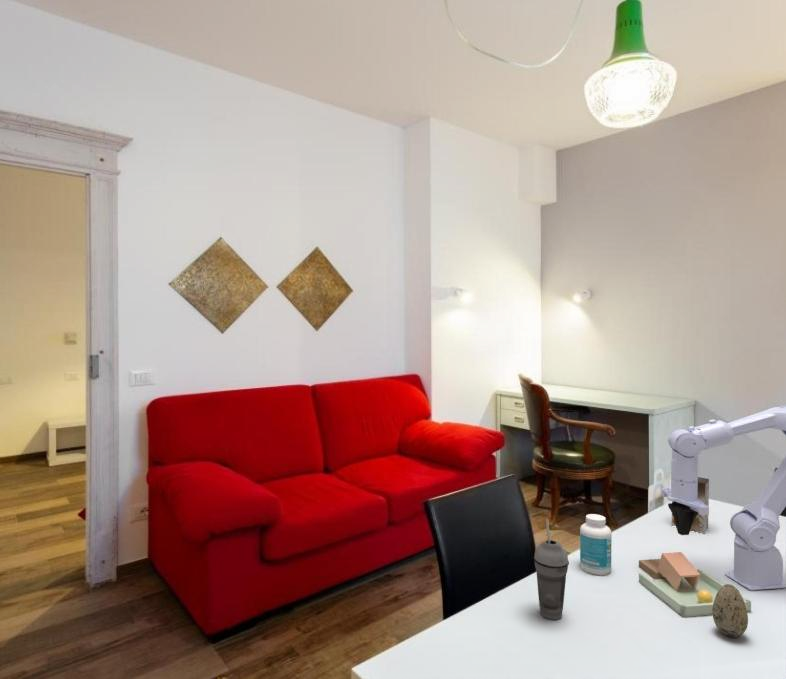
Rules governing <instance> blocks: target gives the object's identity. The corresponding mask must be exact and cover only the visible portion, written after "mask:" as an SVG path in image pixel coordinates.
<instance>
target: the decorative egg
mask: <svg viewBox="0 0 786 679" xmlns="http://www.w3.org/2000/svg"><path fill="white" fill-rule="evenodd" d="M742 596H743V595H742V594H741V592H740V591H739V590H738V588H737V587H735V586H734V585H733V584H730V583H727V584H724V586H722V587H721V588H720V589H719V591H718V592H717V594H716V597H715V599H714V603H713V609H712V614H713V615H712V619H713V622H714V624H715V626H716V628H717V629H718V630H719V631H720V632H721V633H722V634H724V635H726V636H727V637H730V638H731V637H732V638H736V637H739V636H742V635H744V634H745V632H746V631H747V629H748V626H749V615H748V612H747V609H746V606H745V603H744V600H743V598H742Z"/></svg>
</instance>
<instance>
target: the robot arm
mask: <svg viewBox="0 0 786 679" xmlns="http://www.w3.org/2000/svg"><path fill="white" fill-rule="evenodd" d="M766 429H775V430H780V431H781V432H782V433H783V434H784V435H785V436H786V404H783V405H780V406H779V407H778V406H774V407H770V408H769V409H766V410H762V411H759V412H757V413H755V414H751V415H747V416H745V417H741V418H738V419H736V420H733V421H729V422H725V421H723V420H719V419H718V420H716V419H713V418H712V419H709V420H708V423H705V424H701V425H697V426H694V425H693V426H692V425H691V426H688V430H686V429H683V428H681V429H680V428H679V429H676V430H674V431H673V432H672V433H671V434H670V436H669V439H667V442H668V445H669V447H670V448H671V464H670V465H671V468H670V469H671V470H670V488H669V487H667V488H666V487H665V488H662V487H661V497H664V498H666V499H667V500H668V501H670V502H669V503H668V504H667V507H668V508H669V511H670V512H671V515H672V514H673V517H674V520H675V523H676V531H677V533H678V535H680V536H689V535H690V532H691V531H690V529H691V526H692V524H693V521H694V519H695V518H696V516H697V515H698V514H700V515H708V516H710V506H709V507H708V506H706V505H705V504H704V503H702V502H701V501H700V500H699V499H698V498H697V491H698V477H699V461H698V459H699V455H700V454H701V452H702V451H706V450H709V449H713V448H717V447H720V446H724V445H727V444H730V443H732V441H733V439H734V438H735V437H736V436H741V435H746V434H750V433H754V432H758V431H763V430H766ZM672 501H673V503H672ZM785 508H786V456H785V457H784V458H783V460H782V461H781V462H780V463H779V465H778V467H777V468H776V470H775V471H774V472H773V474H772V475H771V477H770V478H769V480H768V481H767V483H766V484H765V485H764V487H763V489H761V491H760V493H759V494H758V495H757V497H756V498H755V500H754V501H753V502H750V503H747V504H745V505H744V506H743V507H742V509H741V510H739V511H737V512H735V513H734V514H733V515H731V518H730V519H729V525H730V529H731V530H732V532H733V533H734V540H733V572H731V571H730V572H725V573H724V575H725V576H726V577H727V578H729V579H731V580H733V581H735V582H736V583H738V584H740V585H741V586H743V587H744V588H746V589H748V590H750V591H757V590H758V591H759V590H771V589H772V590H773V589H785V588H786V584H784V583H783V580H784V579H783V578H784V577H783V576H784V575H783V574H784V569H783V568H784V559H783V556H782V554H781V552H780V549H778V548H777V547H776V546H775V543H776V542H777V534H778V532H779V530H780V529H781V524H780V523H781V522H780V519H779V518H780V516H781V514H782V512H783V511H784V510H785Z"/></svg>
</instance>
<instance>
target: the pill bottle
mask: <svg viewBox="0 0 786 679" xmlns="http://www.w3.org/2000/svg"><path fill="white" fill-rule="evenodd" d="M606 523H607V519H606V517H605V516H603V515H601V514H597V513H589V514H586V516H585V523H583V524H581V525H580V528H579V530H580V531H579V562H580V563H579V566H580V568H581V569H582V570H583V571H584V572H585V573H587V574H590V575H595V576H606V575H609V574H610V573H611V572H612V530H611V528H610V527H609V526H608V525H606Z"/></svg>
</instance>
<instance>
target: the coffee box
mask: <svg viewBox="0 0 786 679" xmlns="http://www.w3.org/2000/svg"><path fill="white" fill-rule="evenodd" d="M709 496H710V479H709V478H705V477H701V476H700V477H699V476H698V491H697V498H698V499H699V500H700V501H701V502H702V503H704V504H705V505H706V506H708V507H709V508H710V505H709V504H710V502H709V500H710V497H709ZM671 503H673V501H671ZM672 526H676V523H675V520H674V517H673V514H672V513H671V527H672ZM707 529H709V515H700V514H698V515H697V516H696V518H695V519H694V521H693V524H692V526H691V529H690V532H692V531H694V532H693V533H696V532H698V533H697V534H700V533H702V534H701V535H705V534H706V533H705V532H708V530H707Z"/></svg>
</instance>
